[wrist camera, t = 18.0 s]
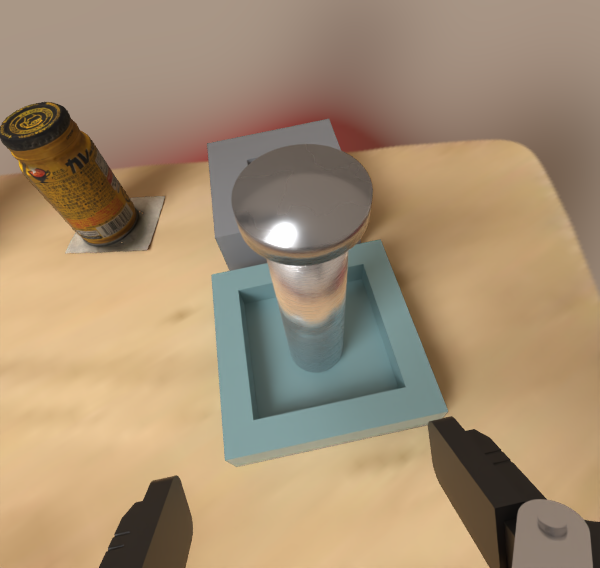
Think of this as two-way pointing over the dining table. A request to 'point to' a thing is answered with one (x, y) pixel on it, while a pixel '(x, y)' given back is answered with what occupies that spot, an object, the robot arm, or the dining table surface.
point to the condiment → (78, 181)
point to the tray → (325, 385)
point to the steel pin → (306, 239)
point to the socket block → (227, 167)
